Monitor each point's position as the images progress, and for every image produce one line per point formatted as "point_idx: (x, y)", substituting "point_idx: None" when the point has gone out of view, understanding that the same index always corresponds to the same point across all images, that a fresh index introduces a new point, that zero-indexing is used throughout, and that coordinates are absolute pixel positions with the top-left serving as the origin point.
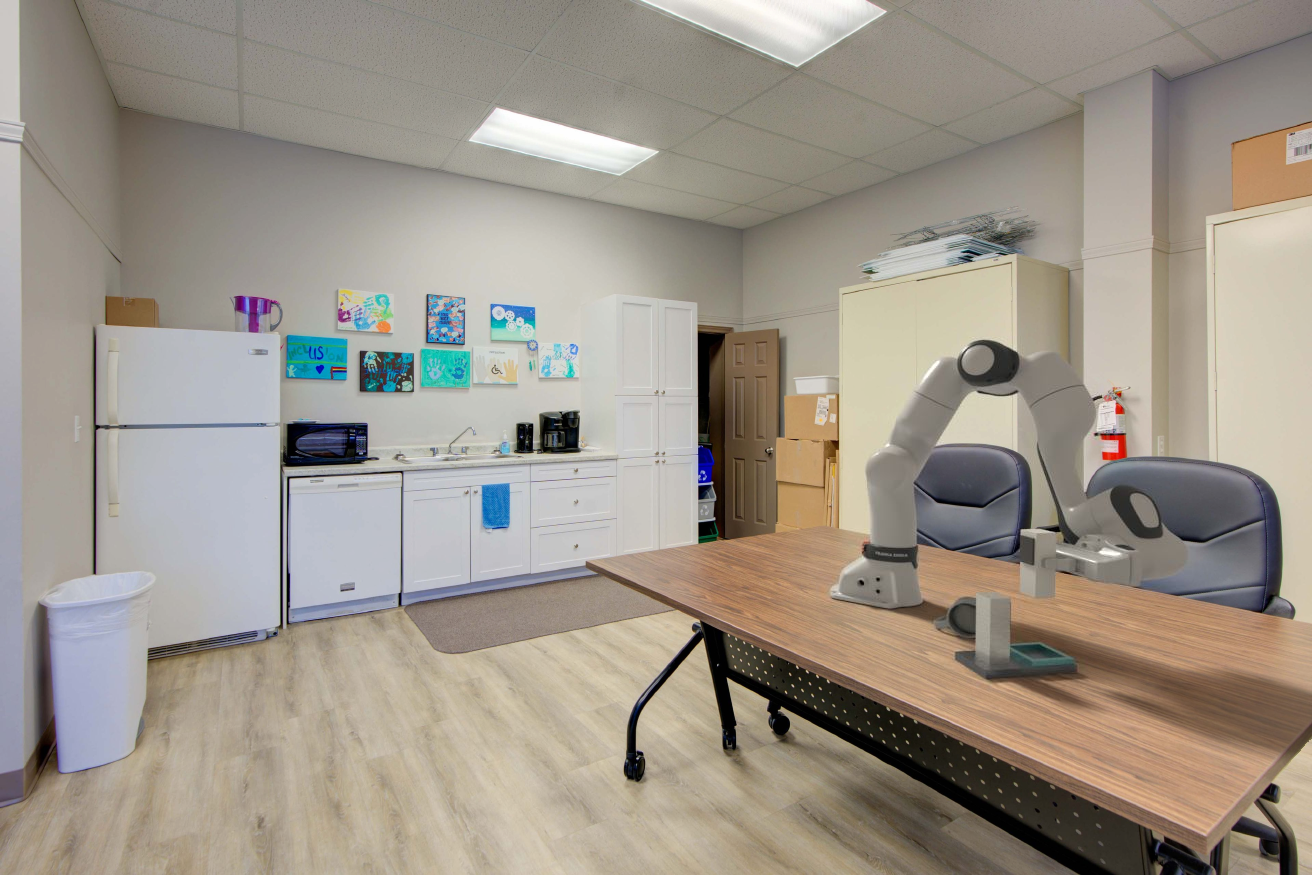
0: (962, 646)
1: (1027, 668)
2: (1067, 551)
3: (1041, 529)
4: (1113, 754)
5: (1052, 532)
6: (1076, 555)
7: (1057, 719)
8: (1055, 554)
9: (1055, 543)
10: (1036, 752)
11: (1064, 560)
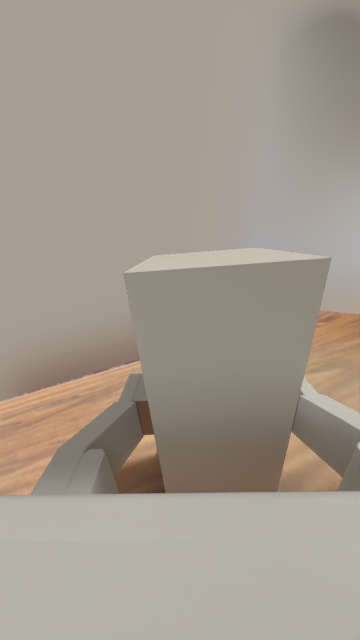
0: (294, 469)
1: (164, 490)
2: (149, 573)
3: (290, 259)
4: (4, 441)
5: (145, 269)
6: (2, 512)
7: (68, 439)
8: (150, 414)
9: (141, 355)
10: (58, 390)
11: (84, 430)
